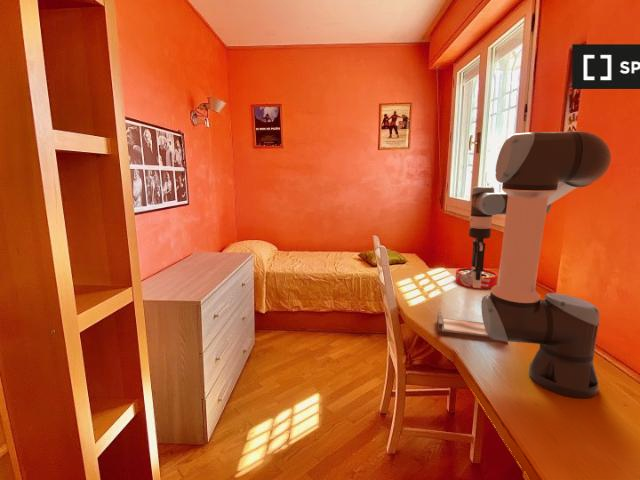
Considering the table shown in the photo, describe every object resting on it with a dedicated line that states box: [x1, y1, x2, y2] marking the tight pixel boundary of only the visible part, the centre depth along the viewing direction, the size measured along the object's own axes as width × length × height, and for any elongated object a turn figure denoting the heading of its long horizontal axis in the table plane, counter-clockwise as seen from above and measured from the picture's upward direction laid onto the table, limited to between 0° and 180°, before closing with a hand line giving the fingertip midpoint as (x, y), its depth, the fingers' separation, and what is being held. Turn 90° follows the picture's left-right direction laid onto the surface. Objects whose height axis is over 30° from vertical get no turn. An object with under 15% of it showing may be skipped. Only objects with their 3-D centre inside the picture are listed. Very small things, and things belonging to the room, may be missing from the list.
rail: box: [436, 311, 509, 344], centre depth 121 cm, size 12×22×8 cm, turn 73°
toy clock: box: [455, 267, 498, 289], centre depth 180 cm, size 20×6×20 cm
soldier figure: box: [455, 270, 490, 288], centre depth 135 cm, size 8×5×12 cm
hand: (475, 285), depth 134 cm, fingers closed on soldier figure, 6 cm apart
